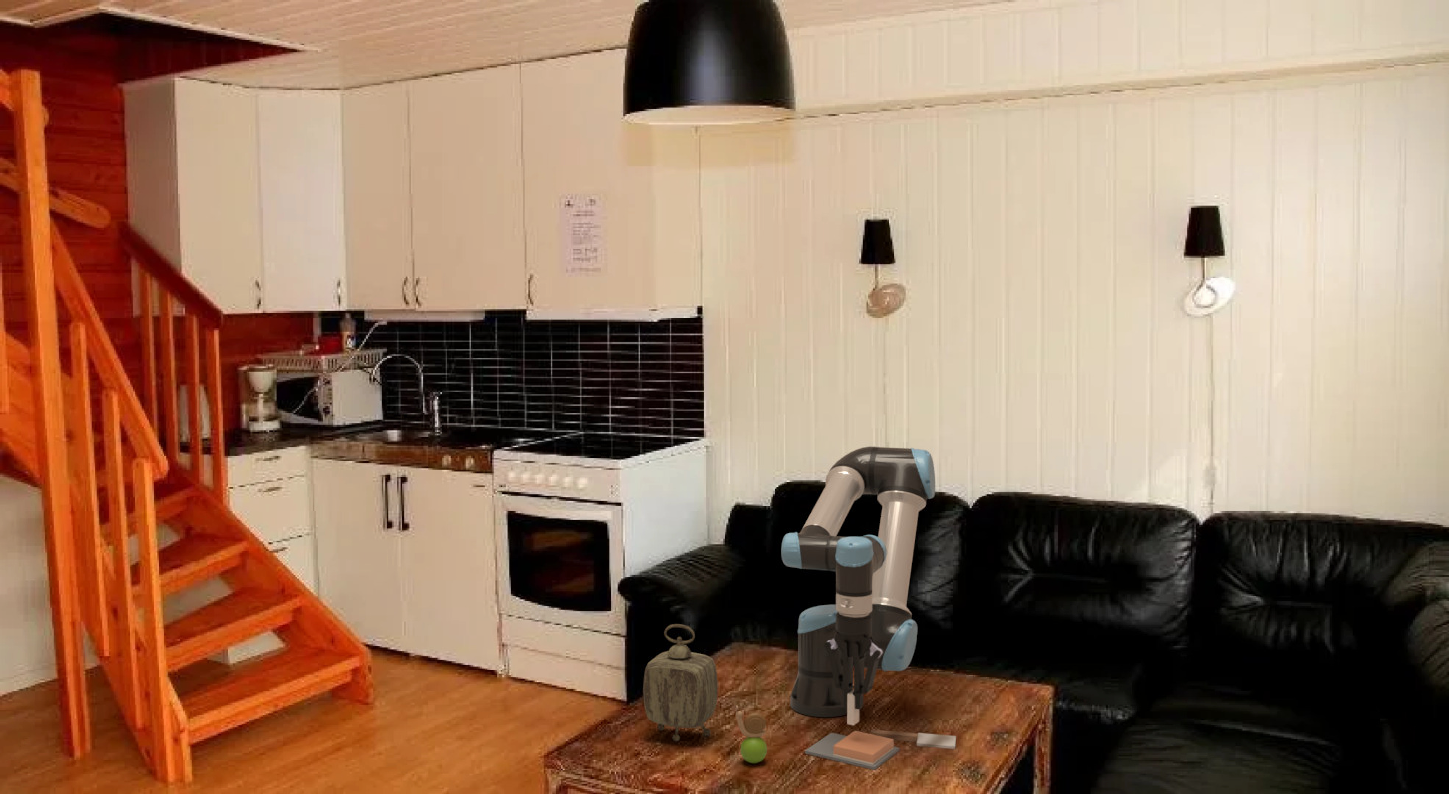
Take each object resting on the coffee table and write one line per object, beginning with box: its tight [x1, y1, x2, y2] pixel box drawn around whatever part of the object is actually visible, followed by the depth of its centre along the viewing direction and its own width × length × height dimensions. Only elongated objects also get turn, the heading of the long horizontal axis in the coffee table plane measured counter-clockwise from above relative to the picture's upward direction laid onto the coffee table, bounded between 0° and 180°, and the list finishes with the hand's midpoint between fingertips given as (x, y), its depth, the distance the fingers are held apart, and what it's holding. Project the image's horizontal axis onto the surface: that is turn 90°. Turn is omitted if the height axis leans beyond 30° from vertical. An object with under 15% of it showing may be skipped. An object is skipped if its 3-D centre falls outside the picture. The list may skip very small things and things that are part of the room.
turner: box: [870, 729, 957, 750], centre depth 259 cm, size 18×6×1 cm, turn 77°
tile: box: [833, 730, 895, 764], centre depth 251 cm, size 2×10×9 cm
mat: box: [804, 732, 900, 771], centre depth 252 cm, size 16×12×1 cm
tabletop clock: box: [642, 623, 719, 743], centre depth 259 cm, size 14×9×25 cm, turn 71°
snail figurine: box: [735, 704, 768, 764], centre depth 246 cm, size 5×6×12 cm
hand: (853, 722), depth 252 cm, fingers closed
